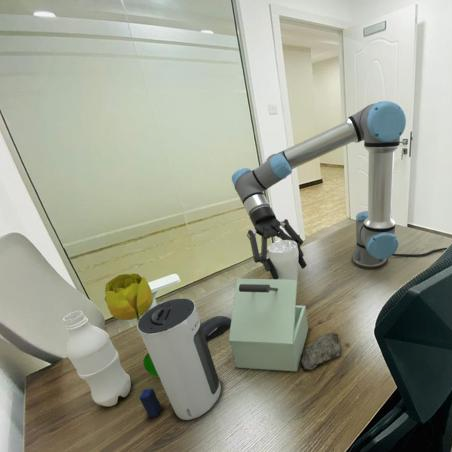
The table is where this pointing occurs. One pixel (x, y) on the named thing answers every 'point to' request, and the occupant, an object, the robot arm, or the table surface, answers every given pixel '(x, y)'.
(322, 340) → the stone
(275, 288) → the lid
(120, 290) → the flower
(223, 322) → the computer mouse
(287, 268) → the cup
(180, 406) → the white cylindrical appliance
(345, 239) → the table surface
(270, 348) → the chest
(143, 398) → the eraser
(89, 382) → the water bottle
